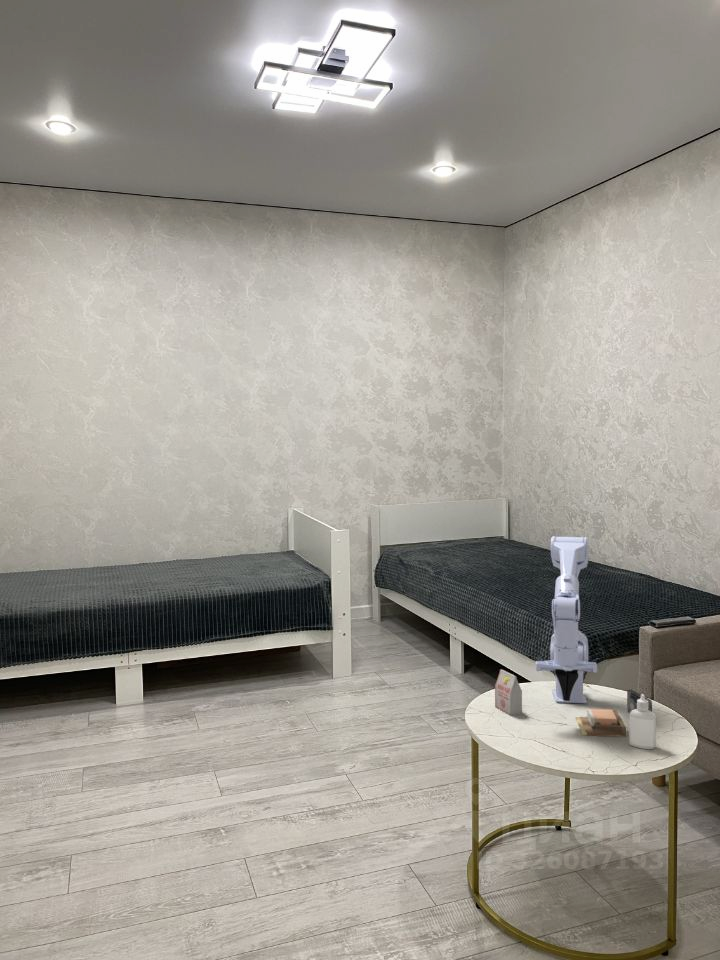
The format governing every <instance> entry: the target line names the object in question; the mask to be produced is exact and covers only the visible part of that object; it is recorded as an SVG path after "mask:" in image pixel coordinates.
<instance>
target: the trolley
mask: <svg viewBox="0 0 720 960" xmlns="http://www.w3.org/2000/svg"><path fill="white" fill-rule="evenodd" d="M586 710H587V712H586V713H587V714H586V715H587V716H586V717H588V720H589V722H590V724H591V726H593V728H594V729H595V725H618V726H619V724H618V722H617V718H616V716H615V714H614V712H613V711H612V710H613V709H595V708H594V709H593V708H591V709H590V708H587V709H586Z"/></svg>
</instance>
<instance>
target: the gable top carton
mask: <svg viewBox="0 0 720 960" xmlns="http://www.w3.org/2000/svg"><path fill="white" fill-rule="evenodd" d="M494 708H496V709H498V710H499V709H500V710H499V711H501V712H503V713H505V714H506V715H508V716H516V715H521V714H523V690H522V688H521V686H520V683H519V681H518V679H517V675H514V674H512V673H510V672H508V671H506V670H504V669H499V673H498V676H497V679H496V682H495V684H494Z"/></svg>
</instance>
